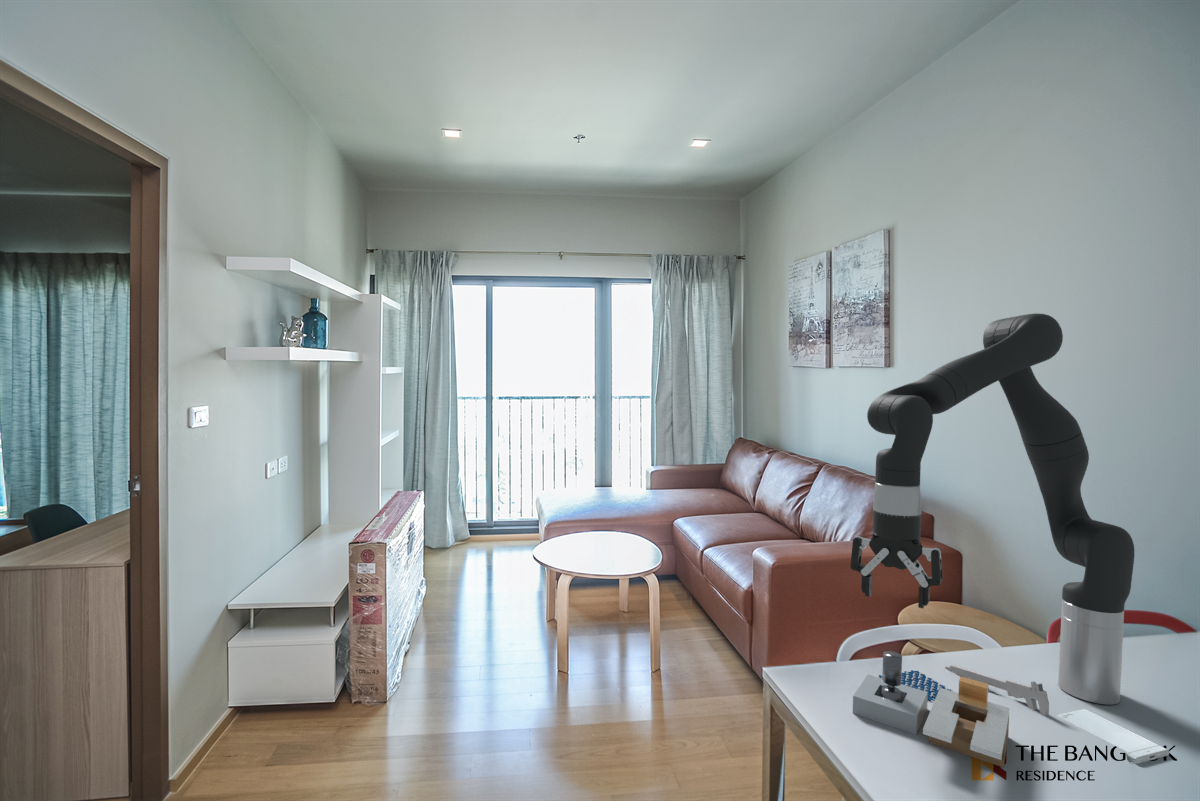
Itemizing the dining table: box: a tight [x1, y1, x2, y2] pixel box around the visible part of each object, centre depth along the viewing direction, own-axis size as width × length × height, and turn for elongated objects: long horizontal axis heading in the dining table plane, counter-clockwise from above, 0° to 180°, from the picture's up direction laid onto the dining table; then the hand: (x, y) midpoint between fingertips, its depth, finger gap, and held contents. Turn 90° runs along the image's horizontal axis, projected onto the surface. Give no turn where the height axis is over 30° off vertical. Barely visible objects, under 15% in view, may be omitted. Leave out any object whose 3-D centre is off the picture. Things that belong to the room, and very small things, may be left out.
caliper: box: [944, 664, 1050, 717], centre depth 115 cm, size 20×1×6 cm, turn 18°
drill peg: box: [881, 650, 903, 703], centre depth 105 cm, size 3×3×10 cm
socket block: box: [928, 705, 1010, 768], centre depth 97 cm, size 10×10×5 cm
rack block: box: [852, 674, 929, 735], centre depth 105 cm, size 10×10×4 cm
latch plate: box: [922, 676, 1010, 760], centre depth 95 cm, size 16×10×4 cm, turn 142°
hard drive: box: [1055, 708, 1170, 765], centre depth 100 cm, size 2×8×12 cm
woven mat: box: [878, 669, 954, 703], centre depth 114 cm, size 10×11×2 cm
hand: (894, 601), depth 105 cm, fingers open, 8 cm apart
